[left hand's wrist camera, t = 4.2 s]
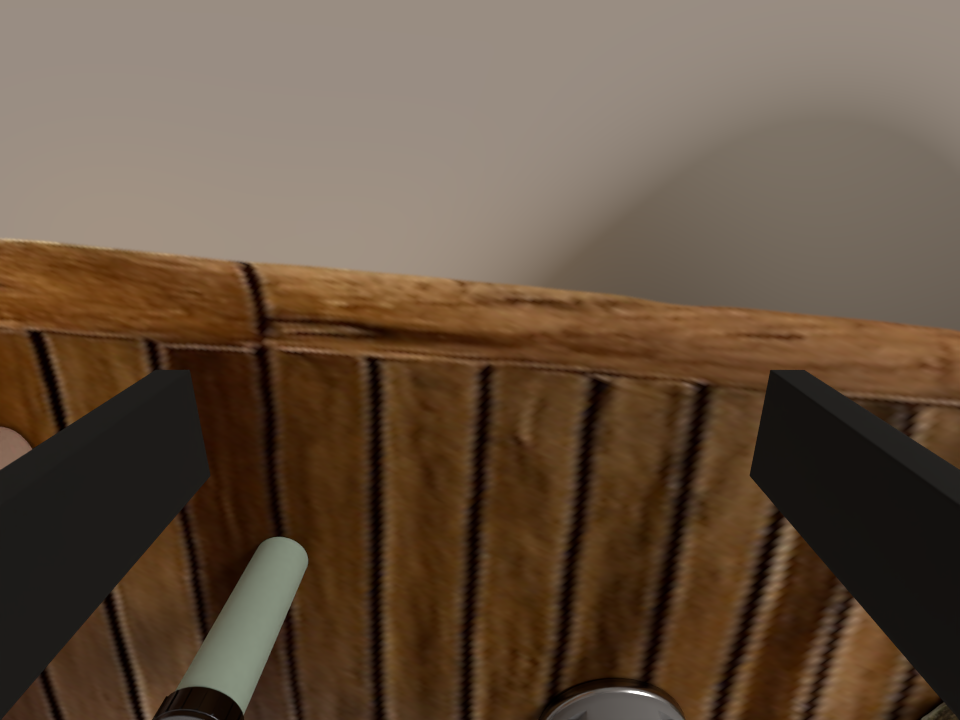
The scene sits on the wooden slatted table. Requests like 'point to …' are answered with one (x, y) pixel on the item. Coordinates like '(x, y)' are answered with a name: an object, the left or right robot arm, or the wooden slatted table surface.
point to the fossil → (941, 714)
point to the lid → (198, 705)
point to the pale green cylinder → (249, 622)
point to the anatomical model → (11, 446)
